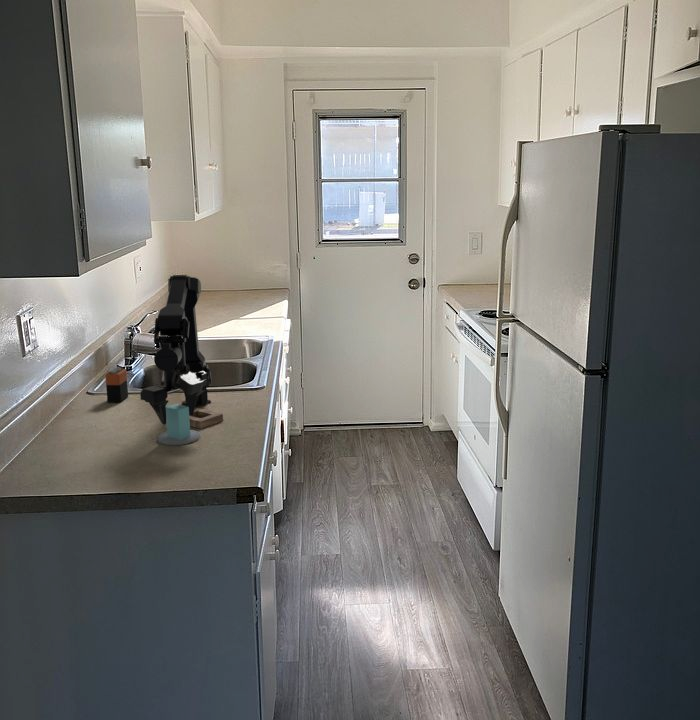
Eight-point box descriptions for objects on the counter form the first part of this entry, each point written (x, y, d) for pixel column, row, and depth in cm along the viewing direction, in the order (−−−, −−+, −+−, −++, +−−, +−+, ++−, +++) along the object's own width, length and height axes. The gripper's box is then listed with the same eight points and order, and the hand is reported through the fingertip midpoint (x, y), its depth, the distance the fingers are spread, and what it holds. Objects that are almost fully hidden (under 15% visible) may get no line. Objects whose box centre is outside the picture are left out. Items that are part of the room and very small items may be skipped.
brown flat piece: (175, 422, 211) (175, 415, 210) (198, 414, 218) (197, 408, 217) (200, 428, 205) (200, 421, 205) (223, 420, 212) (222, 413, 212)
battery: (107, 402, 230) (104, 371, 228) (115, 396, 237) (112, 365, 234) (121, 403, 230) (118, 371, 227) (128, 396, 236) (126, 365, 234)
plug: (167, 436, 198) (165, 406, 196) (177, 432, 200) (175, 403, 199) (180, 439, 195) (178, 410, 193) (190, 436, 198) (188, 406, 196)
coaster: (148, 440, 197) (148, 437, 196) (180, 428, 205) (180, 426, 205) (177, 448, 190) (177, 446, 190) (209, 436, 199) (208, 434, 199)
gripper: (167, 373, 181) (171, 435, 185) (222, 358, 196) (225, 415, 199) (136, 367, 187) (141, 427, 191) (192, 353, 202) (196, 408, 206)
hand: (177, 419), depth 197 cm, fingers open, 9 cm apart
